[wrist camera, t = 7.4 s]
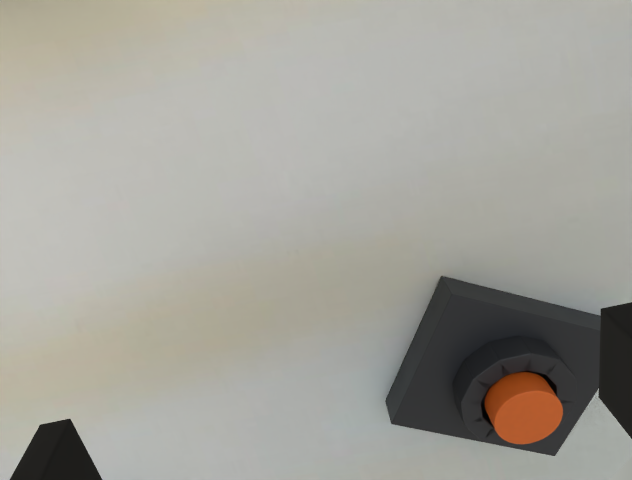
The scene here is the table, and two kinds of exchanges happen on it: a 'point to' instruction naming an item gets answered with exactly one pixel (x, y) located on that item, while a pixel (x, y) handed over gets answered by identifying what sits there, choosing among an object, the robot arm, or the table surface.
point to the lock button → (523, 408)
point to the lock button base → (493, 361)
